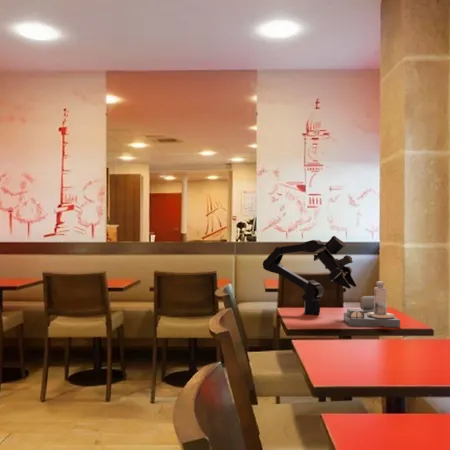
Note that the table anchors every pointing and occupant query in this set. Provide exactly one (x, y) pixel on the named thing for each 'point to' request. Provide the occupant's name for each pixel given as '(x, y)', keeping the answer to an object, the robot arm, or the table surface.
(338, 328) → the table surface
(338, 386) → the table surface
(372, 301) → the ceramic mug
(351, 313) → the bench scale
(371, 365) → the table surface
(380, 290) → the steel weight
